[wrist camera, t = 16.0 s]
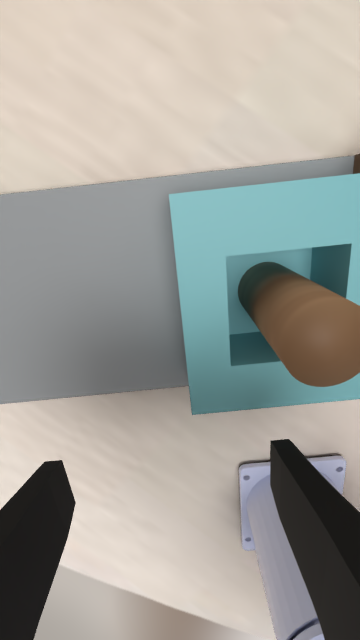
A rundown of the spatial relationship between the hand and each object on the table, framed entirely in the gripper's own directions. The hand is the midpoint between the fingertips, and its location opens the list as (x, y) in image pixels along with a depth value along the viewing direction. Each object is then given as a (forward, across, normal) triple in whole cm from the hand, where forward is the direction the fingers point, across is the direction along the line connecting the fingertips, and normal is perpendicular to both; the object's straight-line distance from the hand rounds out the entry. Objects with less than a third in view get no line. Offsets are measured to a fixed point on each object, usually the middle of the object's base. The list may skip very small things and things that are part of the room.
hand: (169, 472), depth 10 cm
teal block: (+8, -5, -4) cm, 11 cm away
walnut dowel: (+8, -6, -4) cm, 10 cm away
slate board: (+9, 0, -4) cm, 10 cm away
